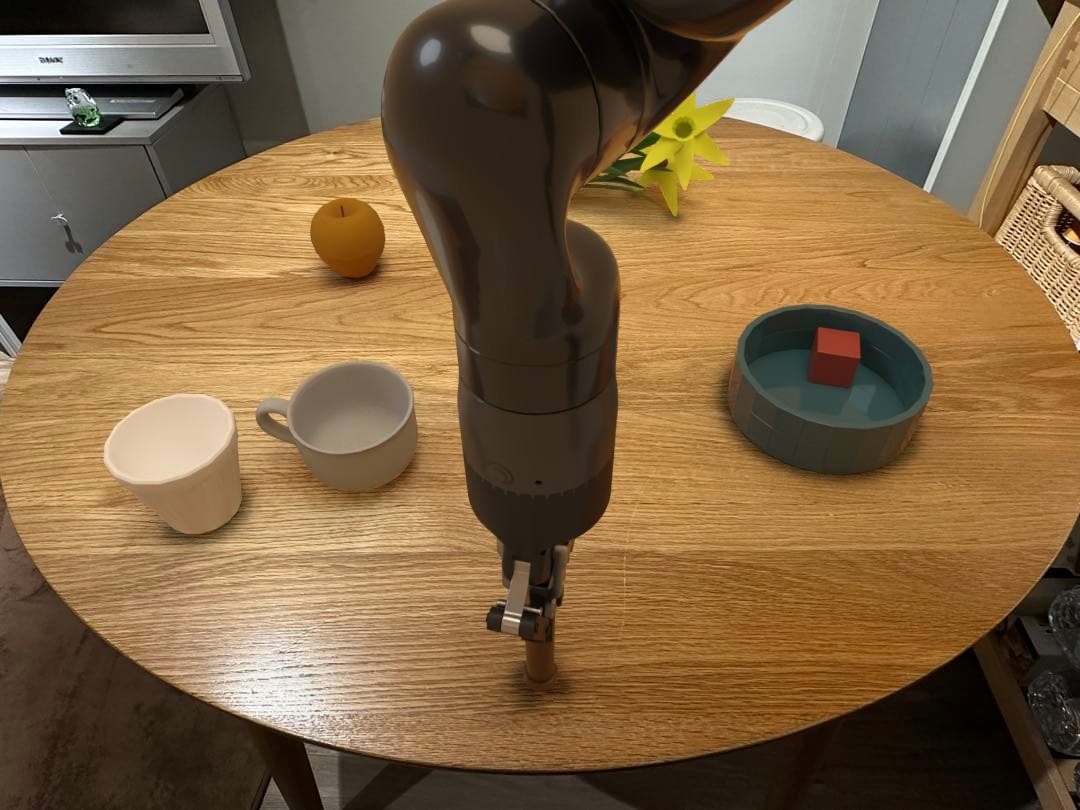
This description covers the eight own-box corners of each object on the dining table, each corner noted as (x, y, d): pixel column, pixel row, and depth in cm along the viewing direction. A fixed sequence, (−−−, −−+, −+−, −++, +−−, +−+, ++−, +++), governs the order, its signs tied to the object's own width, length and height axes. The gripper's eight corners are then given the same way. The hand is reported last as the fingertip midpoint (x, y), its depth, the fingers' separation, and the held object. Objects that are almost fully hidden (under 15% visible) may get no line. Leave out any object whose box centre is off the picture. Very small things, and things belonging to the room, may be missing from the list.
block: (848, 363, 79) (859, 332, 76) (849, 388, 76) (860, 358, 74) (808, 356, 80) (818, 326, 77) (808, 382, 77) (817, 351, 74)
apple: (316, 257, 95) (299, 192, 89) (384, 245, 97) (372, 180, 91) (324, 296, 90) (307, 229, 83) (396, 282, 91) (385, 216, 85)
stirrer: (560, 664, 56) (562, 560, 47) (553, 695, 54) (553, 594, 45) (528, 656, 56) (524, 553, 47) (520, 687, 54) (513, 586, 45)
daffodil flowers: (512, 159, 115) (753, 123, 102) (502, 248, 112) (751, 223, 98) (460, 88, 100) (734, 34, 87) (446, 188, 97) (730, 149, 83)
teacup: (440, 432, 74) (431, 369, 68) (398, 521, 66) (383, 458, 61) (307, 408, 76) (288, 346, 71) (252, 491, 69) (225, 428, 63)
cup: (216, 449, 72) (183, 376, 66) (288, 496, 68) (261, 423, 62) (121, 519, 67) (75, 446, 60) (194, 575, 62) (153, 504, 56)
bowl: (902, 362, 80) (922, 316, 76) (920, 490, 68) (944, 444, 64) (732, 339, 83) (742, 293, 79) (720, 457, 71) (731, 410, 67)
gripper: (586, 562, 32) (576, 736, 44) (636, 352, 41) (617, 542, 54) (415, 529, 33) (452, 706, 45) (502, 332, 43) (513, 522, 55)
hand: (541, 616), depth 49 cm, fingers closed on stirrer, 2 cm apart
